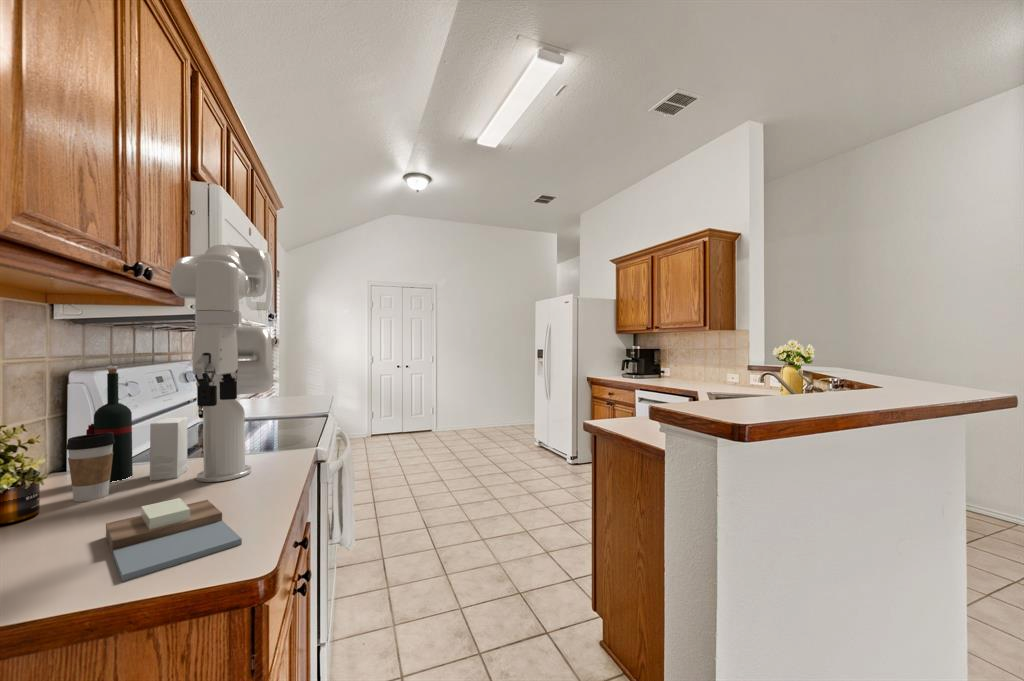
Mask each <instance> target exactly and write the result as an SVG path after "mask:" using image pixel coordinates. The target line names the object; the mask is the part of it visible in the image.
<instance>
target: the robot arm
mask: <svg viewBox="0 0 1024 681" xmlns="http://www.w3.org/2000/svg"><path fill="white" fill-rule="evenodd" d="M169 276H170V277H169V285H170V289H171V290H172V292H173V293H174V294H175V295H176V296H177V297H179V298H182V299H190V300H191V299H193V300H194V302H195V303H194V305H195V306H194V307H195V308H194V309H195V312H194V314H195V315H194V316H195V320H194V323H195V324H194V326H195V332H194V338H193V349H192V373H193V375H194V378H195V379H196V381H195V385H196V389H197V390H196V393H197V394H196V395H197V403H196V404H197V407H199V408H200V407H201V408H202V418H203V419H202V421H203V422H202V425H203V426H202V427H203V428H202V430H203V431H202V432H203V433H202V434H203V436H202V438H203V440H202V442H203V451H202V452H203V471H200V472H199V473H197V474H196V481H198V482H201V483H214V482H215V483H216V482H218V483H219V482H223V481H224V482H226V481H230V480H234V479H239V478H243V477H245V476H246V475H249V474H250V473H252V466H250V465H247V464H246V453H245V452H246V443H245V442H246V440H245V439H246V438H245V437H246V431H245V430H246V427H245V425H246V424H245V423H246V422H245V420H246V419H245V416H246V415H245V409H244V406H243V405H242V404H241V402H239V401H238V400H237V398H238V395H240V396H241V395H252V394H253V395H254V394H255V395H256V394H262V393H267V392H269V391H270V390H271V389H272V387H273V384H274V366H273V363H274V362H273V345H272V338H271V337H272V336H271V334H270V332H269V330H268V329H266V328H264V327H261V326H260V327H259V326H243V322H242V320H243V319H242V318H243V316H242V315H243V314H242V312H241V311H240V300H242V299H243V298H247V297H248V298H249V297H250V298H251V297H252V298H255V297H256V298H259V297H262V296H263V295H264V294H265V293H266V290H267V279H268V260H267V257H266V255H265V253H264V252H263V251H262V250H261V249H260V248H256V247H252V246H241V245H230V244H215V245H212V246H209V248H207V250H205V252H204V253H202V254H196V255H188V256H182V257H180V258H178V259H177V260H176V261H175V262H174V264H173V266H172V268H171V271H170V275H169Z"/></svg>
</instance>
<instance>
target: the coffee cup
mask: <svg viewBox="0 0 1024 681" xmlns="http://www.w3.org/2000/svg"><path fill="white" fill-rule="evenodd" d="M114 443H115V439H114V435H113V432H108V433H99V434H90V435H86V434H85V435H77V436H72V437H70V438H68V439H67V443H66V445H65V447H66V448H65V450H67V451H68V458H67V459H68V460H67V461H68V468H69V475H70V481H71V486H72V487H71V488H72V496H73V497H72V498H73V501H74V502H75V501H77V502H78V503H81V502H82V503H83V501H84V502H91V501H95V500H101V499H103V498H105V497H107V496H108V495H109V492H110V484H111V483H110V476H111V467H112V459H113V452H112V449H113V444H114ZM77 502H76V503H77Z"/></svg>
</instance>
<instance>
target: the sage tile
mask: <svg viewBox="0 0 1024 681" xmlns="http://www.w3.org/2000/svg"><path fill="white" fill-rule="evenodd" d="M141 516H142V518H143V520H144V522H145V523H146V525H147V526H148V528H149V530H150V529H154V528H158V527H162V526H166V525H170V524H174V523H178V522H182V521H186V520H189V519H190V508H189V507H188V506H187V503H185V502H184V501H183V500H182V499H181V498H180V497H179V498H173V499H170V500H164V501H161V502H160V501H159V502H155V503H151V504H147V505H142V506H141Z"/></svg>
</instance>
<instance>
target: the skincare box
mask: <svg viewBox="0 0 1024 681" xmlns="http://www.w3.org/2000/svg"><path fill="white" fill-rule="evenodd" d="M188 420H189V419H188V416H180V417H177V416H176V417H165V418H164V417H163V418H160V419H158V420H156V421H153V422H151V423H150V424H149V425H150V426H149V427H150V429H149V430H150V431H149V432H150V433H149V435H150V436H149V437H150V438H149V443H150V444H149V481H150V480H154V481H159V480H158V479H164V480H170V479H169V478H174V479H178V478H179V477H180V476H181V475H183V474H184V473H185V472H187V470H188V422H189V421H188Z"/></svg>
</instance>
